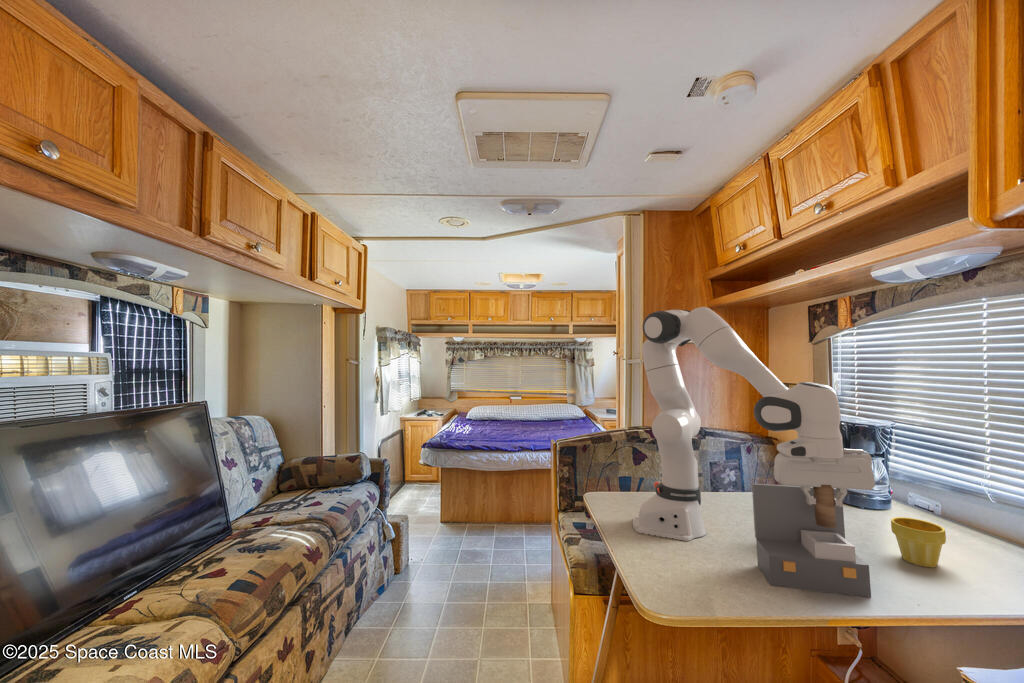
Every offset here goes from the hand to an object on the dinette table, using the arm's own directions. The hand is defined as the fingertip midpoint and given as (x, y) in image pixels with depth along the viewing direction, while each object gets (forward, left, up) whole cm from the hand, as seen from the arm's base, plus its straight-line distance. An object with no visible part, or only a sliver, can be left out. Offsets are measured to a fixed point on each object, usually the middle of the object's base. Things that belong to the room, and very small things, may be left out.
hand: (824, 505), depth 99 cm
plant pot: (+28, +18, -18) cm, 38 cm away
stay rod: (0, 0, -5) cm, 5 cm away
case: (-4, 0, -18) cm, 19 cm away
